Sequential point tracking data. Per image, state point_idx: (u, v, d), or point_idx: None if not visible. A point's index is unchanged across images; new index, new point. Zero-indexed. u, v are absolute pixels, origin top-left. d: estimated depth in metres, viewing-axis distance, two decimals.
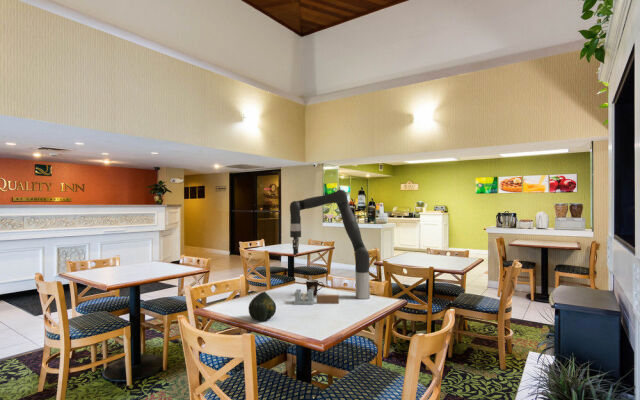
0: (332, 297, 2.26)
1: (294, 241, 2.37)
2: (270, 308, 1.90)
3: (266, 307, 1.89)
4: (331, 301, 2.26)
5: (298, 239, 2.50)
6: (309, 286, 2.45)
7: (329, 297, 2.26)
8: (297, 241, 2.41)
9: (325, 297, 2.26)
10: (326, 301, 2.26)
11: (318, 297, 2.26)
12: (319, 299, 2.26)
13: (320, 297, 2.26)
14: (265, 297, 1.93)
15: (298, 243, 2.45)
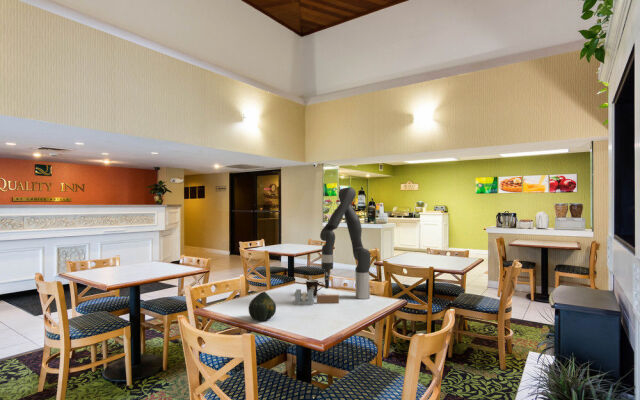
0: (332, 297, 2.26)
1: (326, 274, 2.21)
2: (270, 308, 1.90)
3: (266, 307, 1.89)
4: (331, 301, 2.26)
5: None
6: (309, 286, 2.45)
7: (329, 297, 2.26)
8: (329, 273, 2.26)
9: (325, 297, 2.26)
10: (327, 301, 2.26)
11: (318, 297, 2.26)
12: (319, 299, 2.26)
13: (320, 297, 2.26)
14: (265, 297, 1.93)
15: None
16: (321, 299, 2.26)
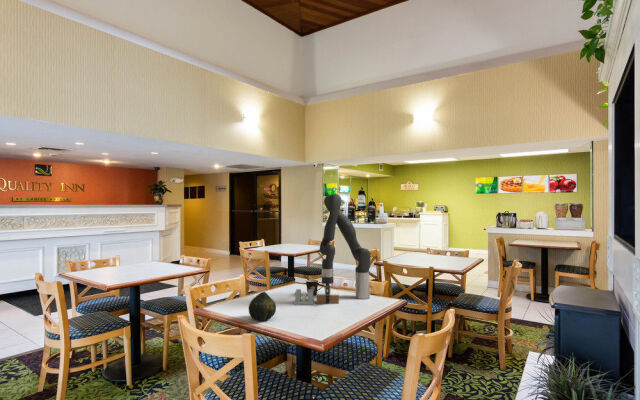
0: (332, 297, 2.26)
1: (327, 291, 2.21)
2: (270, 308, 1.90)
3: (266, 307, 1.89)
4: (331, 301, 2.26)
5: None
6: (309, 286, 2.45)
7: None
8: (329, 288, 2.26)
9: (325, 297, 2.26)
10: None
11: (318, 297, 2.26)
12: (319, 299, 2.26)
13: (320, 297, 2.26)
14: (265, 297, 1.93)
15: None
16: (321, 299, 2.26)
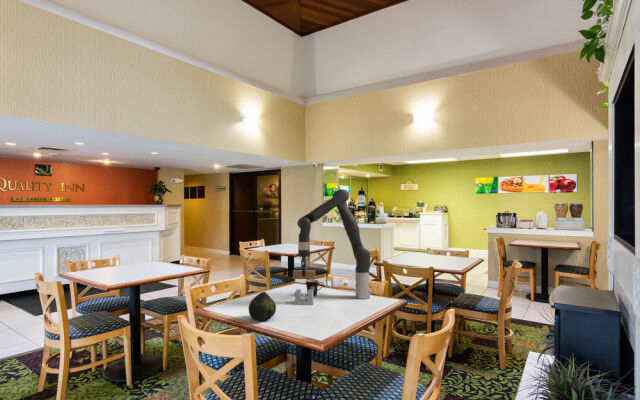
0: (308, 272, 2.27)
1: (303, 263, 2.23)
2: (270, 308, 1.90)
3: (266, 307, 1.89)
4: (307, 276, 2.27)
5: None
6: (309, 286, 2.45)
7: None
8: (306, 261, 2.27)
9: (301, 272, 2.27)
10: None
11: (294, 272, 2.27)
12: (295, 274, 2.27)
13: (296, 272, 2.27)
14: (265, 297, 1.93)
15: None
16: (297, 274, 2.27)
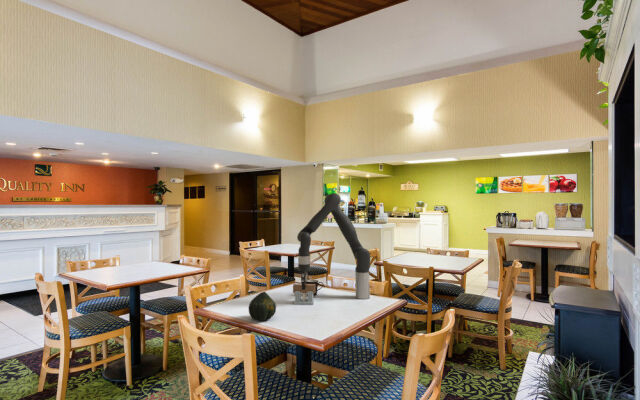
0: (308, 287, 2.27)
1: (303, 276, 2.22)
2: (270, 308, 1.90)
3: (266, 307, 1.89)
4: (307, 290, 2.27)
5: (306, 271, 2.35)
6: None
7: (305, 286, 2.27)
8: (306, 275, 2.26)
9: (301, 286, 2.27)
10: (303, 290, 2.27)
11: (294, 286, 2.27)
12: (295, 288, 2.27)
13: (296, 286, 2.27)
14: (265, 297, 1.93)
15: None
16: (297, 288, 2.27)
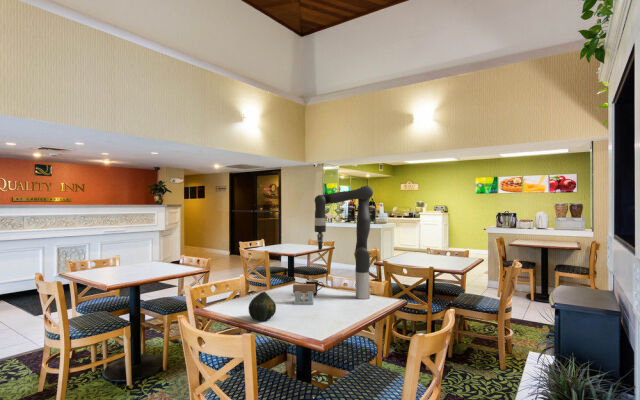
0: (308, 287, 2.27)
1: (319, 236, 2.32)
2: (270, 308, 1.90)
3: (266, 307, 1.89)
4: (307, 290, 2.27)
5: None
6: None
7: (305, 286, 2.27)
8: (322, 236, 2.36)
9: (301, 286, 2.27)
10: (303, 290, 2.27)
11: (294, 286, 2.27)
12: (295, 288, 2.27)
13: (296, 286, 2.27)
14: (265, 297, 1.93)
15: None
16: (297, 288, 2.27)
